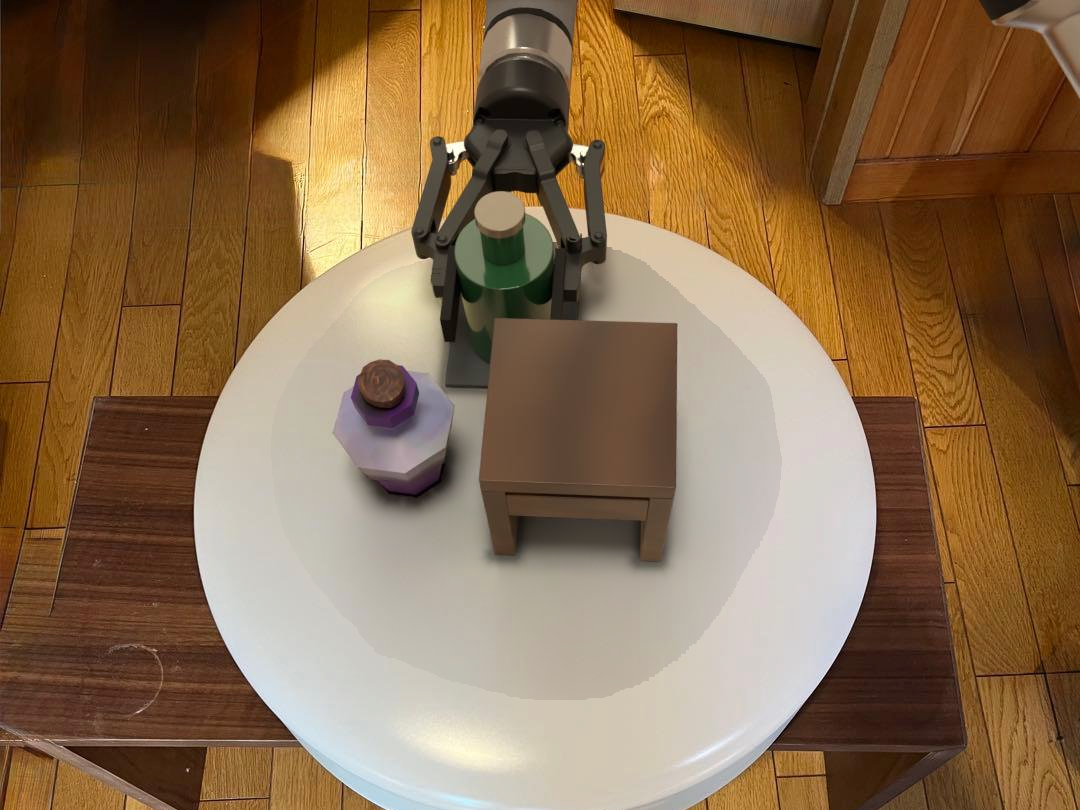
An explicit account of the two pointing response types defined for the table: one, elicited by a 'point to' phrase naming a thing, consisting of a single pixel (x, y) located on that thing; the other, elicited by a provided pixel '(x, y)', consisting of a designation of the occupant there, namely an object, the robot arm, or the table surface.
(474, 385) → the felt mat
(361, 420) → the potion bottle
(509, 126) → the robot arm
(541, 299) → the green bottle
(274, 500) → the table surface
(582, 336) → the walnut table
